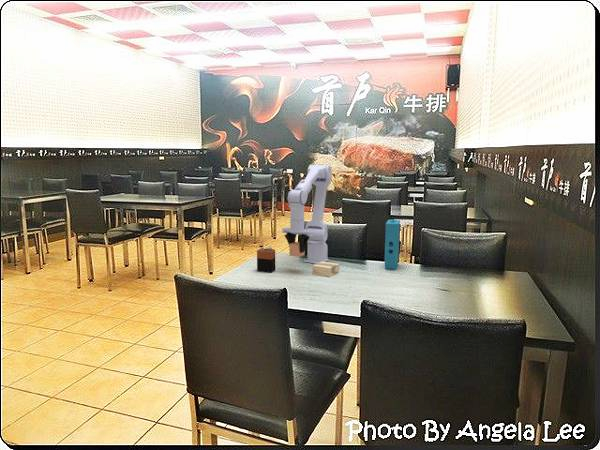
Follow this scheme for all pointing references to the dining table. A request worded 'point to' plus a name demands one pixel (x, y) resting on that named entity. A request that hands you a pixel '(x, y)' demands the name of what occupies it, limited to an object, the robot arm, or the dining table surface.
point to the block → (392, 244)
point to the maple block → (325, 269)
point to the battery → (266, 260)
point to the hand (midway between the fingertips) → (297, 251)
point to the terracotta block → (295, 250)
